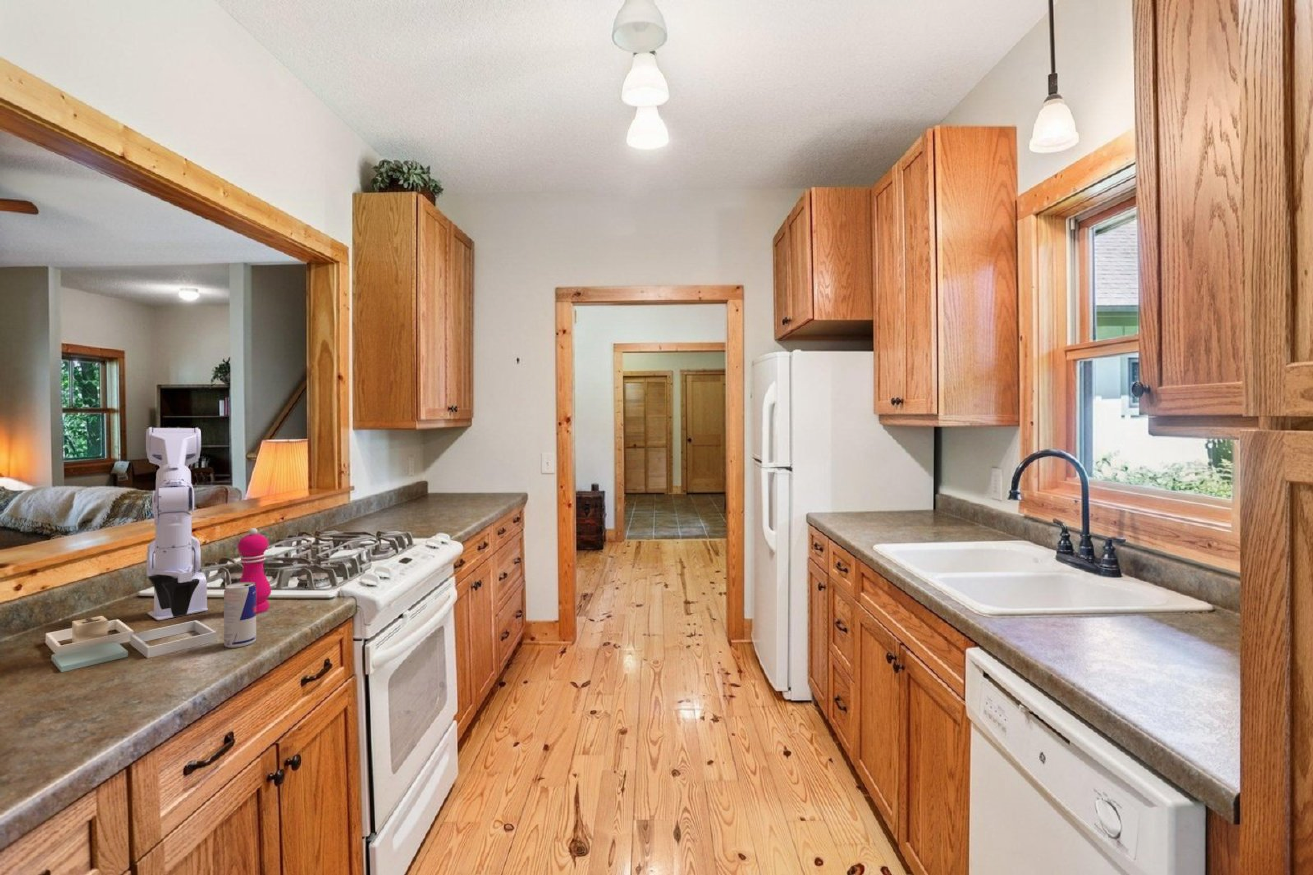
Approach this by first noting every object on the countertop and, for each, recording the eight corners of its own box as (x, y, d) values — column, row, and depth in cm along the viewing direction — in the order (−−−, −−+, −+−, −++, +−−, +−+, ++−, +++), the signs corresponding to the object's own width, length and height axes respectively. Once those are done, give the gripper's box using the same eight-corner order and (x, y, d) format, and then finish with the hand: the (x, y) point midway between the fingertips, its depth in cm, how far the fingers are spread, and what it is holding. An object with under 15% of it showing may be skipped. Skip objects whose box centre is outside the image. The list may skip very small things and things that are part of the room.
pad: (115, 646, 116) (115, 641, 116) (127, 656, 111) (127, 651, 111) (51, 660, 109) (51, 654, 109) (61, 672, 104) (61, 666, 104)
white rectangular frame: (196, 629, 126) (196, 620, 126) (216, 641, 119) (216, 631, 119) (130, 644, 117) (130, 634, 117) (147, 658, 110) (147, 647, 110)
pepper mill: (236, 617, 134) (236, 531, 134) (233, 610, 140) (233, 527, 139) (273, 611, 139) (273, 528, 139) (268, 604, 144) (268, 524, 144)
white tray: (118, 628, 126) (118, 619, 126) (133, 640, 119) (133, 630, 119) (45, 643, 117) (45, 633, 117) (57, 657, 110) (57, 646, 110)
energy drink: (262, 640, 120) (262, 583, 120) (236, 649, 115) (236, 589, 115) (244, 637, 122) (244, 580, 122) (217, 646, 117) (217, 587, 117)
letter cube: (102, 636, 121) (102, 615, 121) (107, 641, 119) (107, 619, 119) (72, 643, 118) (72, 620, 118) (77, 648, 115) (77, 625, 115)
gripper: (137, 544, 119) (137, 609, 119) (159, 553, 111) (159, 624, 111) (180, 539, 125) (180, 601, 125) (204, 547, 116) (204, 614, 116)
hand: (173, 611), depth 118 cm, fingers open, 7 cm apart
